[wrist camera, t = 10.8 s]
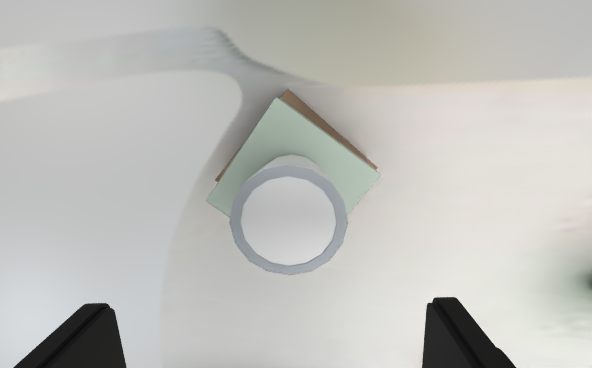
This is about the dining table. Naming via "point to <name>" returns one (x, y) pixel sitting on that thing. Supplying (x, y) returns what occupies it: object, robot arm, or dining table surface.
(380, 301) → the dining table surface
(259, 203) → the white cup
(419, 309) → the dining table surface
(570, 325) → the dining table surface
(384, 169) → the dining table surface
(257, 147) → the tower top block
